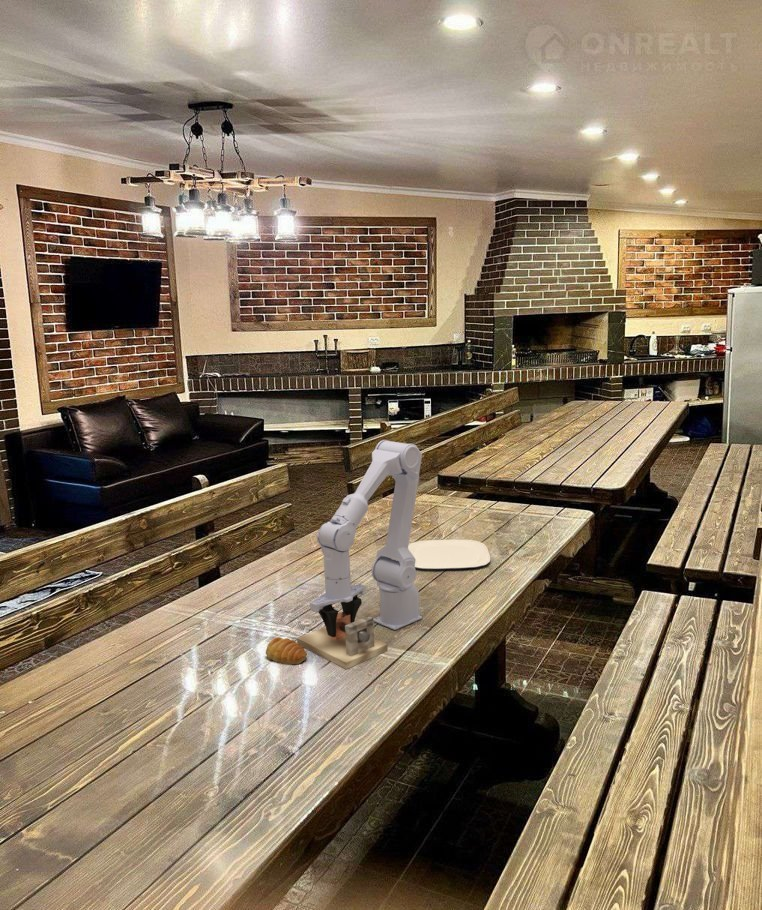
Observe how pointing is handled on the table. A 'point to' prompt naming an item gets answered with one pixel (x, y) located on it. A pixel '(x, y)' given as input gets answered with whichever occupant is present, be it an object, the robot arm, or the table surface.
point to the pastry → (285, 651)
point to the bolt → (345, 619)
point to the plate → (449, 554)
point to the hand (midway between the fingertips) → (340, 632)
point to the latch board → (345, 644)
